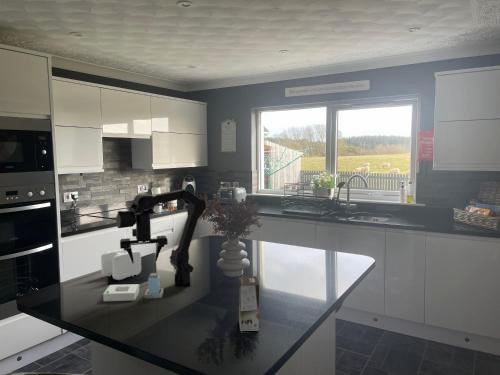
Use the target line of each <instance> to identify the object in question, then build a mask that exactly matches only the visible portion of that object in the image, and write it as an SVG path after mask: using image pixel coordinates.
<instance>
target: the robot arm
mask: <svg viewBox="0 0 500 375" xmlns="http://www.w3.org/2000/svg"><path fill="white" fill-rule="evenodd" d="M178 200H182V202H184V203H185V204H186V205H187V208H186V211H187V212H186V213H187V217H186V220H185V224H184V227H183V230H182V234H181V236H180V240H179V243H178V246H177V248H175V249H172V250H171V254H170V256H169V262H170V264H171V266H172V267H173V268H174V270H176V271H175V273H174V284H175V287H191V284H192V280H191V279H192V278H191V275H192V273H193V271H194V267H193V266H192V265H191V264H190V263H189V261H190V252H189V250H190V247H191V243H192V240H193V236H194V234H195V230H196V227H197V223H198V221H199V219H200V218H201V217H202V215H203V214H204V212H205V210H206V208H207V203H206V201H205V200H204V199H202V198H199V197H198V196H196V195H195V194H192V193H191V191H189V190H188V189H186V188H180V189H177V190H172V191H166V192H161V193H157V194H148V193H147V194H145V193H144V194H143V193H140V194H137V195H135V196H134V198H133V202H132V204H131V205H130V207H129V208H128V210H118V211H117V215H116V218H115V223H116V227H117V228H118V229H125V228H132V230H131V231H132V232H131V233H132V234H131V235H132V237H133V238H134V237H135V239H134V240H133V239H132V240H131V238H130V237H129V238H121V239H120V240H119V248H120V250H121V249H124V250H126V251H127V252H128V254H129V256H130V258H131V261H132V263H134V260H133V254H132V252H133V251H132V250H133V249H132V246H135V245H136V246H137V245H149V244H155V253H154V254H155V258H154V260H155V262H158V258H159V255H160V253H161V250H162V249H163V248H164V247H165V246H168V238H167V236H166V235H157V236H156V237H155V238H152V234H151V232H152V230H151V229H152V227H151V215H154V214H156V211H154V210H153V209H152V208H154V207H156V206H157V205H160V204H164V203H169V202H173V201H178ZM134 226H135V228H133V227H134Z"/></svg>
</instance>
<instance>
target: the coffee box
mask: <svg viewBox="0 0 500 375" xmlns="http://www.w3.org/2000/svg"><path fill="white" fill-rule="evenodd" d="M238 279H239V280H238V281H239V282H238V283H239V284H238V286H239V290H238V291H239V292H238V302H239V304H238V305H239V306H238V308H239V310H238V311H239V312H238V314H239V315H238V320H239V321H238V323H239V332H240V331H241V332H240V333H243V332H242V331H258V330H260V329H259V328H260V326H259V325H260V322H259V321H260V283H259V279H258V277H257V276H253V275H251V276H239V277H238ZM258 332H259V331H258Z"/></svg>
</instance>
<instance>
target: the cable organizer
mask: <svg viewBox="0 0 500 375" xmlns="http://www.w3.org/2000/svg"><path fill="white" fill-rule="evenodd" d="M132 254H133V260H134V263H132V261H131V258H130V256H129V254H128V252H127V251H126V250H124V248H123V249H121V248H120V249H117V250H112V251H108V252H107V251H106V252H104V253H102V255H101V257H100V264H101V265H100V266H101V275H103V276H104V277H111V275H112V278H113V279H114V280H117V281H121V280H124V279H126V278H130V277H131V276H132V277H135V276H134V275H136V276H138V275H139V274H140V273H141V271H142V254H141V252H140V251H138V250H134V251H132Z"/></svg>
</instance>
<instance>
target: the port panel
mask: <svg viewBox="0 0 500 375" xmlns="http://www.w3.org/2000/svg"><path fill="white" fill-rule="evenodd" d="M139 293H140V284H137V283H135V284H134V283H133V284H109V285H108V287H107V288H106V290H105V291H104V292H103V294H102V295H103V302H116V301H117V302H121V301H122V302H123V301H125V302H127V301H136V298H137V297H138V294H139Z"/></svg>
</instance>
